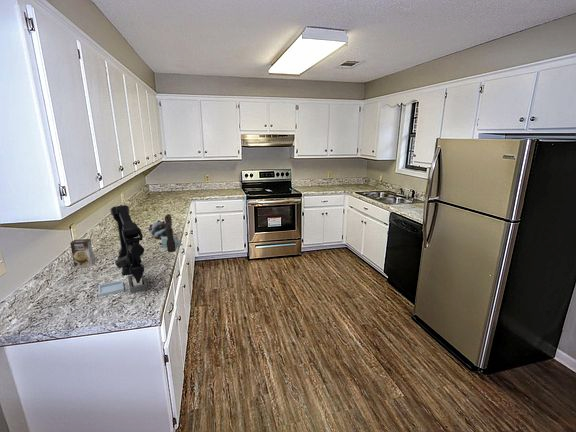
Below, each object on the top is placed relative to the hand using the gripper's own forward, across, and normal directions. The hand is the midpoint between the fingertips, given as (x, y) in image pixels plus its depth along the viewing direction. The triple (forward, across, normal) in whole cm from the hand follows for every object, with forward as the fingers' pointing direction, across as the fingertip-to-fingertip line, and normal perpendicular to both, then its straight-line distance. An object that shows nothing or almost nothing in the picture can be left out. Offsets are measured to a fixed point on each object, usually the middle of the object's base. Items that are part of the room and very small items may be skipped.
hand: (137, 279), depth 155 cm
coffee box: (+6, -50, -25) cm, 56 cm away
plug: (+5, 0, 0) cm, 5 cm away
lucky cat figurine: (+6, -86, +24) cm, 90 cm away
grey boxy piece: (+6, -4, 0) cm, 7 cm away
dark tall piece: (+6, -59, +27) cm, 65 cm away
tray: (+6, -6, -12) cm, 15 cm away
